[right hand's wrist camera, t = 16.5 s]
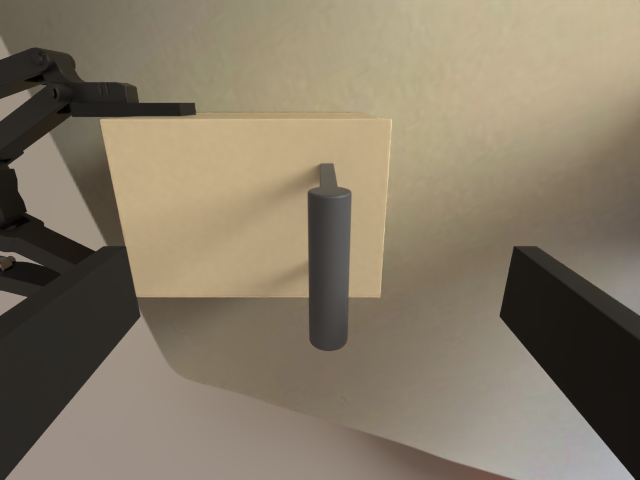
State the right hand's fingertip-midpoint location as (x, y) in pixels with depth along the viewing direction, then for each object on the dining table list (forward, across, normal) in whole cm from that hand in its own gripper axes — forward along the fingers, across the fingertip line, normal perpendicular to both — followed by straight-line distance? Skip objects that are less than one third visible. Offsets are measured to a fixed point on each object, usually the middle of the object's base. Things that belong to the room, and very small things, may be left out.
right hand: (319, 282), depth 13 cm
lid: (+9, -4, 0) cm, 9 cm away
